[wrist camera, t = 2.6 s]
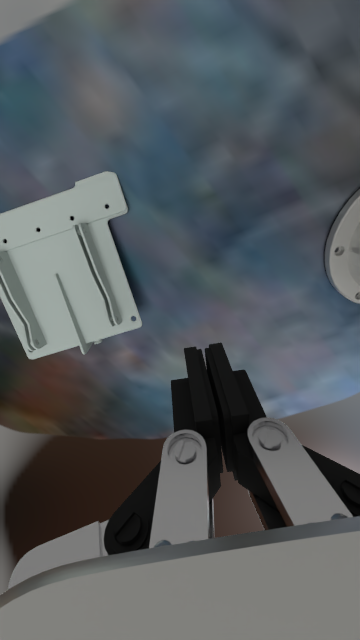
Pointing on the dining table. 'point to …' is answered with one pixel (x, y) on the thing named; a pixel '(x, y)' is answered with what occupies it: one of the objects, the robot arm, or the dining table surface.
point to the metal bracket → (66, 269)
